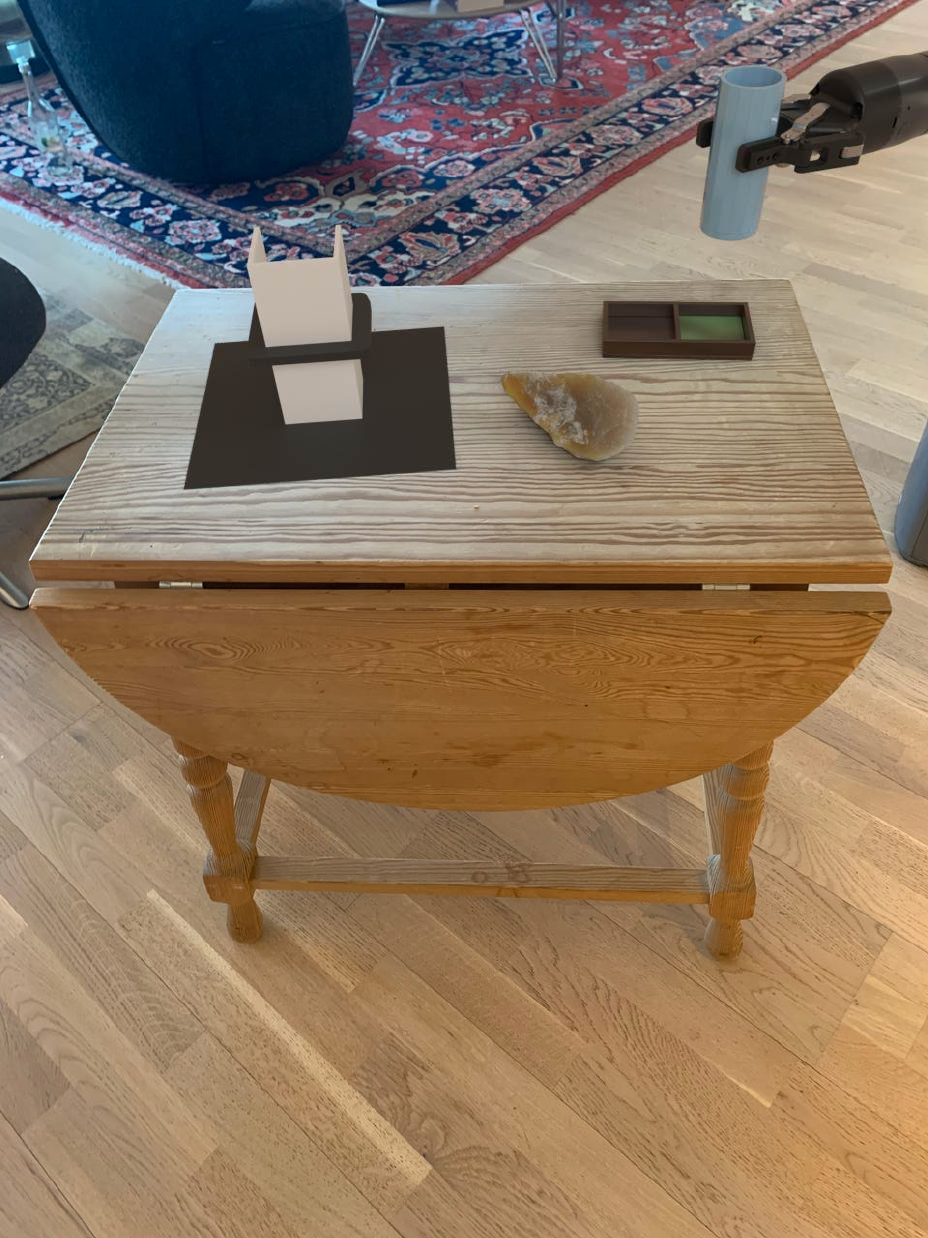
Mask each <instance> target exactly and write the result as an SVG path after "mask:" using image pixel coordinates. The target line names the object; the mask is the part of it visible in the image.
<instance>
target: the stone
mask: <svg viewBox="0 0 928 1238" xmlns="http://www.w3.org/2000/svg"><path fill="white" fill-rule="evenodd" d="M500 384H501V386H502V388H503V391H504V394H506V395H507V396H508V397H510V398H511V399H512V400H513V401H514V402H515V403H516V405H517V406H518V407H519V408H520V409H521V410H522V411H523V412H525V413H526V414H527V415H529V417H530V419H531V420H532V421H533V422H534V424H536V425H538V426H539V427H540V428H541V429H542V430H544V432H546V433H547V434H549V436H550V438H551V440H552V443H553V445H555V446H557V447H559V448H561V449H563V450H565V451H567V453H568V454H570V455H572V456H574V457H575V458H577V459H580V460H581V459H582V460H586V461H595V462H601V461H607V460H609V459H612V458H613V457H615V456H617V455H619V454H621V453H623V452H624V451H625V450H627V449H628V448H630V446H631V445H632V443H633V442H634V441H635V439H636V433H637V429H638V423H639V415H640V410H639V409H640V408H639V401H638V399H637V398H636V396H635V394H634V393H633V392H631V391H630V390H629V389H628V388H624V387H623V386H620V385H618V384H615V383H614V382H611V381H608V380H606V379H603V378H602V377H601V376H599V375H593V374H591V373H584V374H576V373H573V372H563V373H561V374H557V373H548V374H547V373H544V372H542V371H537V370H528V369H527V370H525V369H524V370H509V369H508V371H506V372H505V373H504V374H503V375H502V376H501V378H500Z"/></svg>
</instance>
